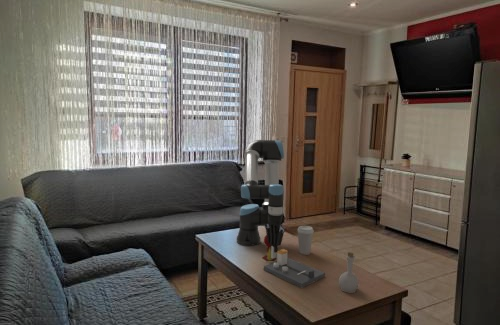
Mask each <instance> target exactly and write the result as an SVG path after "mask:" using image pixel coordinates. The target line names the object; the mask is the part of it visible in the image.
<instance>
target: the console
mask: <svg viewBox="0 0 500 325" xmlns="http://www.w3.org/2000/svg"><path fill="white" fill-rule="evenodd" d="M263 271H265V272H266V273H270V274H272V275H274V276H276V277H277V278H280V279H282V280H284V281H285V282H288V283H290V284H292V285H294V286H297V287H299V288H301V289H304V287H306V286H309V285H311V284H313V283H315V282H317V281H319V280H321V279H323V278H325V277H326V273H325V272H324V271H322V270H319V269H316V268H314V267H312V266H309V265H306V264H304V263H301V262H299V261H297V260H294V259H292V258H289V257H287V264H285V265H282V266H281V265H279V263H277V261H276V262H273V263H267V264H266V265H263Z"/></svg>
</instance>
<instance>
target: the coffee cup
mask: <svg viewBox="0 0 500 325" xmlns="http://www.w3.org/2000/svg"><path fill="white" fill-rule="evenodd" d="M296 231H297V237H298V238H297V239H298V253H299V254H300V255H305V256H306V255H310V254H311V250H312V249H311V248H312V243H313V242H312V240H313V234H314V233H315V231H314V228H313V227H312V226H310V225H300V226H298V228H297V230H296Z"/></svg>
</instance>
